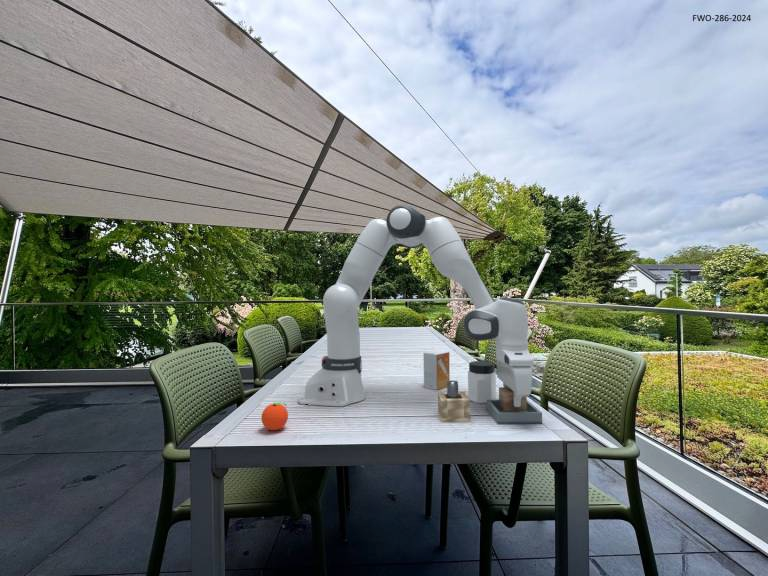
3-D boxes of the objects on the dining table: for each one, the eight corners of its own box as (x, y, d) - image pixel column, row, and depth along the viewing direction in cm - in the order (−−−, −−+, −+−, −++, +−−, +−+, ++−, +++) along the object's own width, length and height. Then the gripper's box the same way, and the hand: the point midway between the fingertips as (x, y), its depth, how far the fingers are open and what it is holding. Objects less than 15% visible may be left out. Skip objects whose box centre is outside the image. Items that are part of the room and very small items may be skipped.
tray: (497, 424, 102) (497, 413, 102) (486, 409, 114) (486, 399, 114) (542, 423, 102) (542, 412, 102) (526, 409, 114) (526, 399, 114)
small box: (437, 390, 136) (436, 354, 135) (423, 387, 140) (422, 352, 140) (450, 386, 141) (449, 351, 141) (436, 383, 146) (436, 349, 146)
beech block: (441, 422, 105) (441, 400, 105) (438, 412, 113) (437, 392, 113) (470, 421, 104) (470, 400, 104) (464, 412, 112) (464, 392, 112)
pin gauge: (449, 415, 107) (448, 383, 107) (446, 411, 110) (445, 380, 110) (460, 414, 107) (459, 382, 108) (457, 410, 110) (455, 380, 111)
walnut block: (505, 411, 105) (504, 393, 105) (498, 404, 111) (498, 387, 111) (527, 411, 105) (526, 392, 105) (519, 404, 111) (519, 386, 111)
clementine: (278, 421, 107) (277, 396, 107) (296, 426, 103) (296, 400, 103) (255, 431, 100) (255, 405, 100) (274, 436, 96) (274, 409, 96)
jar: (501, 401, 122) (500, 364, 122) (481, 405, 118) (481, 367, 118) (482, 394, 130) (482, 359, 130) (463, 397, 127) (463, 362, 126)
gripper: (491, 348, 119) (491, 391, 119) (512, 361, 98) (512, 414, 98) (511, 347, 118) (511, 391, 119) (536, 361, 98) (536, 413, 98)
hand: (512, 402), depth 108 cm, fingers closed on walnut block, 6 cm apart
